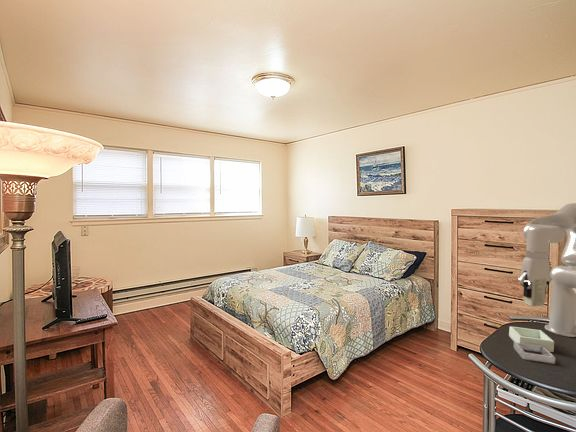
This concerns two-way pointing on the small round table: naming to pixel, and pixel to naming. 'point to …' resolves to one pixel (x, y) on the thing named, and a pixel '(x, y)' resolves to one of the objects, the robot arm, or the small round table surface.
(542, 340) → the sage bin
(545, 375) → the small round table surface
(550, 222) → the robot arm
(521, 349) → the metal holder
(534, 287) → the skincare box
